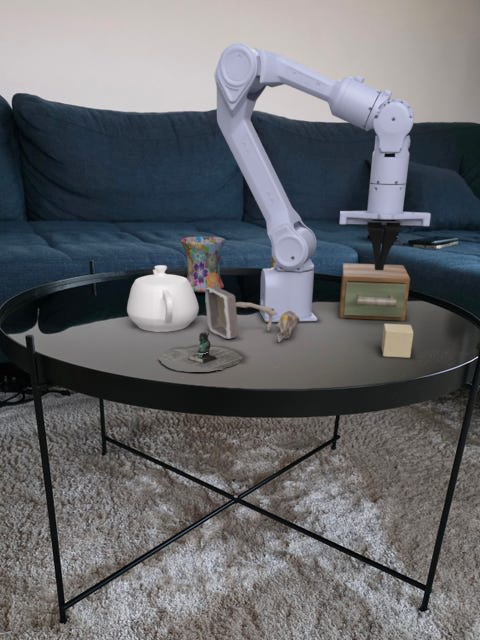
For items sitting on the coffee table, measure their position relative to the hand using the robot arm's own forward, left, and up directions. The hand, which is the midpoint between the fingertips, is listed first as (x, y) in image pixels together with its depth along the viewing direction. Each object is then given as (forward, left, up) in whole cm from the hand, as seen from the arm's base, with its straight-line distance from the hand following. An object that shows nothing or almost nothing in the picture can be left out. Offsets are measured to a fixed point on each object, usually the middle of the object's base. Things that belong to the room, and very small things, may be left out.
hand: (378, 269), depth 101 cm
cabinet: (+2, +9, -10) cm, 13 cm away
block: (-2, -16, -10) cm, 19 cm away
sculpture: (-32, -16, -10) cm, 37 cm away
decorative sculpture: (-22, -5, -10) cm, 24 cm away
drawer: (+1, +5, -9) cm, 10 cm away
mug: (-29, +30, -10) cm, 42 cm away
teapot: (-37, +3, -10) cm, 39 cm away
